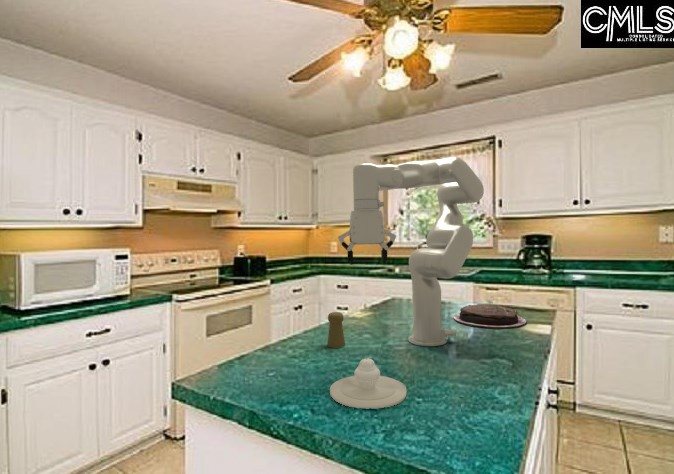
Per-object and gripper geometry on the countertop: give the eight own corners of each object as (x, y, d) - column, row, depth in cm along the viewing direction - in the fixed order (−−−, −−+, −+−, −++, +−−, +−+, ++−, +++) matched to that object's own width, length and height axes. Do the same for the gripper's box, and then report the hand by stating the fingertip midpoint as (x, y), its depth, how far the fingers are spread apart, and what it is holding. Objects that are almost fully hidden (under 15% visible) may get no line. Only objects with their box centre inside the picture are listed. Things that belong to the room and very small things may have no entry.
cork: (343, 348, 132) (342, 314, 132) (325, 347, 134) (324, 314, 133) (346, 343, 138) (346, 310, 138) (329, 342, 139) (328, 310, 139)
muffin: (373, 394, 92) (372, 364, 92) (349, 389, 95) (349, 360, 95) (384, 385, 98) (384, 356, 97) (361, 380, 101) (361, 352, 100)
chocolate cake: (530, 318, 170) (530, 302, 170) (520, 333, 147) (520, 315, 146) (463, 312, 185) (463, 297, 185) (444, 325, 162) (444, 308, 161)
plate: (397, 377, 106) (397, 372, 106) (415, 407, 88) (415, 402, 88) (328, 380, 105) (328, 375, 105) (332, 411, 87) (331, 406, 87)
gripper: (392, 206, 125) (393, 262, 125) (336, 207, 124) (337, 263, 124) (397, 205, 117) (399, 264, 118) (338, 206, 116) (339, 265, 117)
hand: (367, 263), depth 121 cm, fingers open, 9 cm apart
